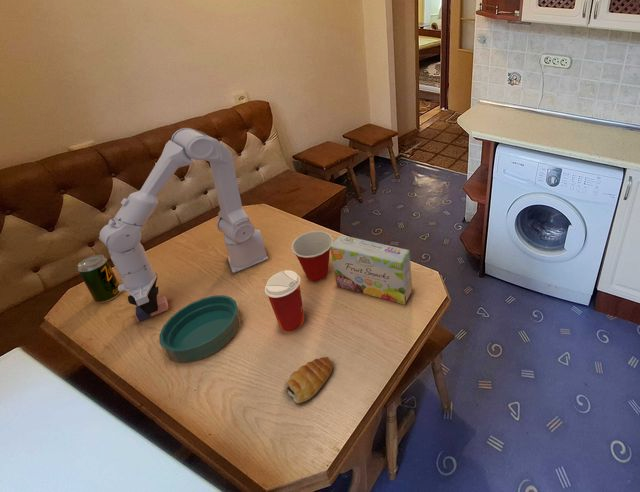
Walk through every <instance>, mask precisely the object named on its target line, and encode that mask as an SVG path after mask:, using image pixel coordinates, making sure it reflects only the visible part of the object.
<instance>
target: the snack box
mask: <svg viewBox="0 0 640 492" xmlns="http://www.w3.org/2000/svg"><path fill="white" fill-rule="evenodd" d="M330 254H331V260H332V266H333V270H334V271H333V272H334V276H335V281H336V286H337V287H338V288H342V289H345V290H346V289H347V290H348V291H353V292H356V293H360V294H364V295H368V296H372V297H374V298H378V299H382V300H385V301H389V302H393V303H397V304H400V305H406V303H407V301H408V300H409V297H410V296H411V295H412V294H411V293H412V292H413V284H412V282H413V281H412V266H411V251H410V249H406V248H401V247H397V246H392V245H388V244H383V243H379V242H374V241H370V240H366V239H361V238H357V237H353V236H348V235H343V234H339V236H338V237H336V238H335V240H333V243H332V244H331V245H330Z"/></svg>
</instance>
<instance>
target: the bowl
mask: <svg viewBox="0 0 640 492" xmlns="http://www.w3.org/2000/svg"><path fill="white" fill-rule="evenodd" d="M241 323H242V316H241V312H240V308H239V306H238V303H237V300H235V299H234V298H233V297H231V296H228V295H224V294H220V295H219V294H218V295H210V296H206V297H203V298H200V299H197V300H195V301H193V302H191V303H189V304H187V305H185V306H184V307H182V308H180V309H178V311H177V312H175V313H174V314H173V315H172V316H171V317H169V319H168V320H167V321H166V322H165V324H163V326H162V329H161V330H160V332H159V336H158V338H159V345H160V346H161V350H162V351H163V353H164V355H165V356H166V357H167V359H168V360H169V361H172V362H175V363H178V364H181V363H183V364H184V363H191V362H195V361H199V360H202V359H204V358H207V357H209V356H211V355H212V354H214V353H216V352H218V351H219V350H220V349H222V348H223V347H224V346H226V345H227V344H228V343H229V342H230V341H231V340H232V339H233V338H234V337H235V336H236V334H237V332H238V331H239V329H240V327H241Z"/></svg>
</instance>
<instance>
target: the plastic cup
mask: <svg viewBox="0 0 640 492" xmlns="http://www.w3.org/2000/svg"><path fill="white" fill-rule="evenodd" d="M333 242H334V238H333V237H332V234H330V233H328V232H327V231H323V230H311V231H308V232H304V233H302V234H299V236H297V237H296V238H295V239H294V240H293V241H292V244H291V247H290V248H291V251H292V253H293V254H294V255H295V257H296V258H297V260H298V261H299V264H300V266H301V268H302V270H303V272H304V274H305V276H306V278H307V280H308V281H310V282H314V283H316V282H320V281H322V280H324V279H325V278H326V277H327V276H328V274H329V268H330V267H329V264H330V254H331V250H330V245H331V244H332V243H333Z"/></svg>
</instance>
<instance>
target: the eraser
mask: <svg viewBox="0 0 640 492" xmlns="http://www.w3.org/2000/svg"><path fill="white" fill-rule="evenodd" d="M168 302H169V301H168V299H167V297H166V295H162V296H160V297H157V303H158V311H156V312H153V313H151V314H149V315H147V314H146V313H145V312H144V311H143V310H142V309H141V308H139V307H138V306H136V305H135V307H134V316H135V319H136V321H137V322H138V323H140V322H143V321H145V320H148V319H150V318H152V317H153V316H156V315H158V314H159V315H160V314H161V313H163V312H166V311H169V304H168Z"/></svg>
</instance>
